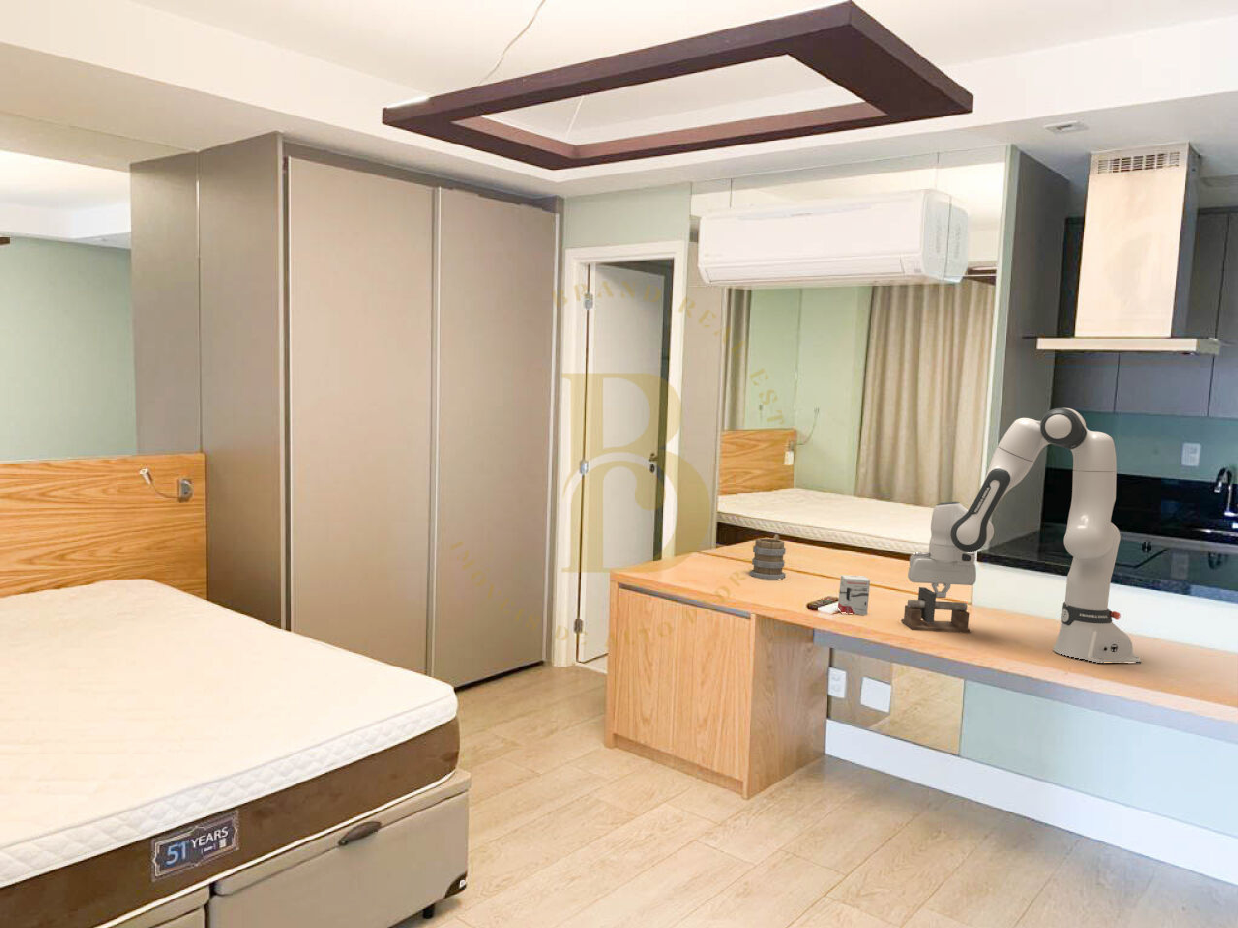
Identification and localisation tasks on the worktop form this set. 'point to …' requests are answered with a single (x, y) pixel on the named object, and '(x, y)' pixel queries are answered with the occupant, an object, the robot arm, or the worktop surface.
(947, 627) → the pipe stand
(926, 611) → the dark grey flat slab
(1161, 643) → the worktop surface
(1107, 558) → the robot arm
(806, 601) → the worktop surface
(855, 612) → the ink box
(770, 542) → the tankard
